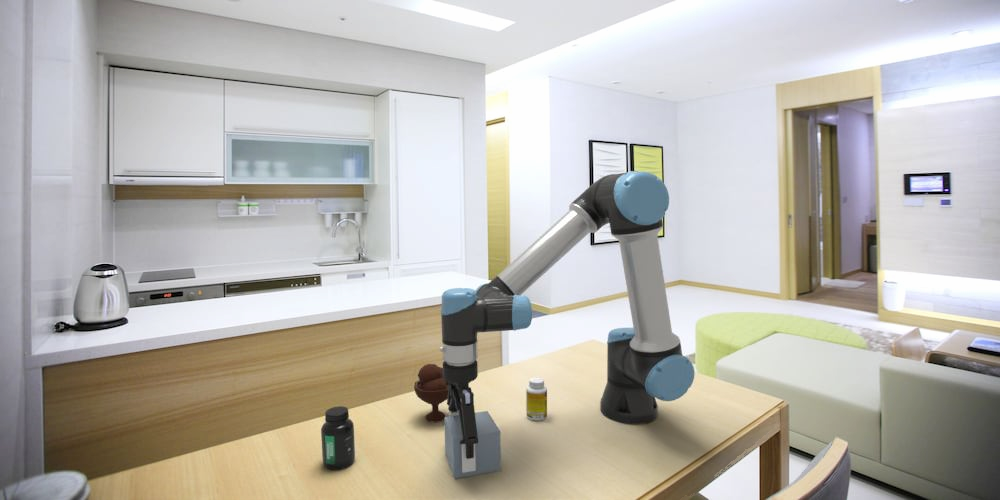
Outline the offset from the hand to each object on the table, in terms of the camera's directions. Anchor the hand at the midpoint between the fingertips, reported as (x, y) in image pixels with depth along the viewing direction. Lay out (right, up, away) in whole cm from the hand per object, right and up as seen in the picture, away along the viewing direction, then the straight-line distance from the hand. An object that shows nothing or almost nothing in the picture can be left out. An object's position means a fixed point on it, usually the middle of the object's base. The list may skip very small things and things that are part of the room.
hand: (461, 454), depth 102 cm
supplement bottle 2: (+18, 0, +22) cm, 29 cm away
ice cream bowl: (-9, 0, +22) cm, 24 cm away
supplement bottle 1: (-27, -3, +1) cm, 28 cm away
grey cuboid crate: (+2, -2, +1) cm, 3 cm away
